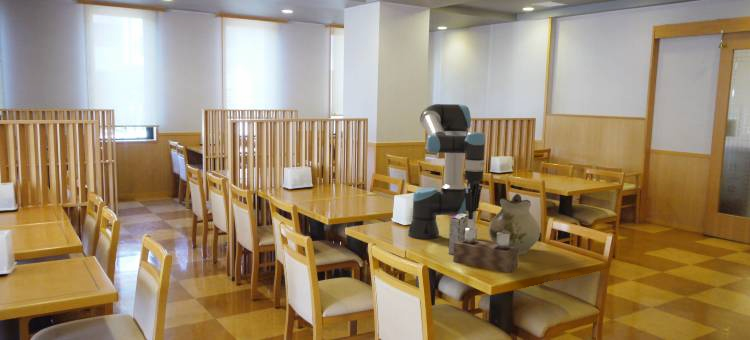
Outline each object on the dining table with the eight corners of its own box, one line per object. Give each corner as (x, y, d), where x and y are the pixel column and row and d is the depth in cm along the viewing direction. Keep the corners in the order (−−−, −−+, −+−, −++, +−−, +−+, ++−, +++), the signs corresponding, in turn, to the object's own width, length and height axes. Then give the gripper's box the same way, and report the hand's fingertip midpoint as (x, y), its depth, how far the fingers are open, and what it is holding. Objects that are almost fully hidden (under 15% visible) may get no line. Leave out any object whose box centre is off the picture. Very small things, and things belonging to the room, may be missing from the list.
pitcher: (506, 259, 242) (510, 201, 239) (476, 246, 264) (479, 192, 261) (549, 256, 251) (553, 200, 248) (516, 243, 272) (520, 191, 270)
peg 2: (494, 252, 230) (495, 233, 229) (498, 249, 234) (499, 231, 233) (505, 254, 227) (506, 235, 226) (510, 251, 231) (511, 233, 230)
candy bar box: (458, 248, 259) (459, 213, 257) (468, 250, 256) (470, 214, 254) (447, 253, 249) (449, 217, 247) (458, 255, 247) (460, 218, 244)
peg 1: (462, 246, 237) (463, 228, 236) (467, 243, 241) (468, 226, 240) (473, 248, 235) (474, 230, 234) (478, 245, 239) (479, 228, 238)
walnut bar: (453, 261, 237) (454, 242, 236) (463, 256, 246) (464, 238, 245) (508, 272, 224) (509, 252, 223) (517, 266, 232) (518, 247, 231)
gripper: (476, 172, 227) (473, 230, 229) (489, 169, 237) (486, 225, 240) (458, 170, 231) (456, 227, 234) (472, 168, 241) (469, 222, 244)
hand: (471, 226), depth 237 cm, fingers closed
